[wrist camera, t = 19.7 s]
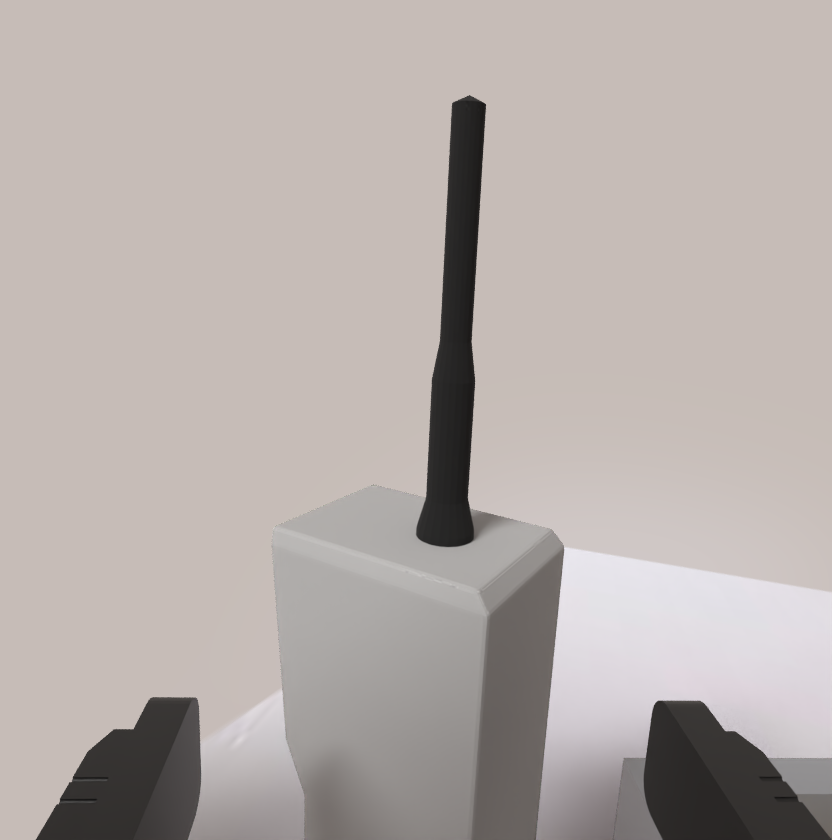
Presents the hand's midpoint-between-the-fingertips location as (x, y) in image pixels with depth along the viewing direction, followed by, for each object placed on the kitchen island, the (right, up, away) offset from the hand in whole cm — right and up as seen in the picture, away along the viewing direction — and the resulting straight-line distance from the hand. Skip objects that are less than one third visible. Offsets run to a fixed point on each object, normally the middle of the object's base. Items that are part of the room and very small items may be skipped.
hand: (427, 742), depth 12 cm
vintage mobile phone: (-1, -13, +6) cm, 14 cm away
